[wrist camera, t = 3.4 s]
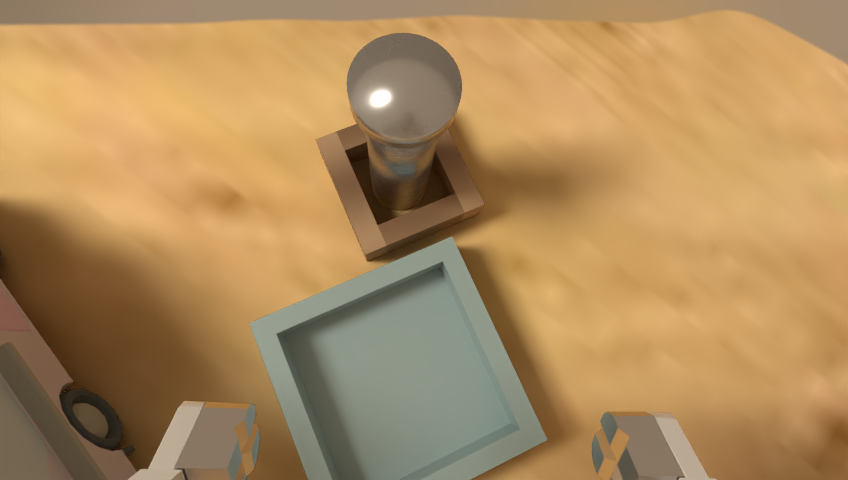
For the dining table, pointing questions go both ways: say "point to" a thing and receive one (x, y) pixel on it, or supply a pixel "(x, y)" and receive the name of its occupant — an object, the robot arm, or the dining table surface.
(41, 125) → the dining table surface
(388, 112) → the pin
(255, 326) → the tray
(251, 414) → the robot arm
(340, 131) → the collar
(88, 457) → the toy vehicle
